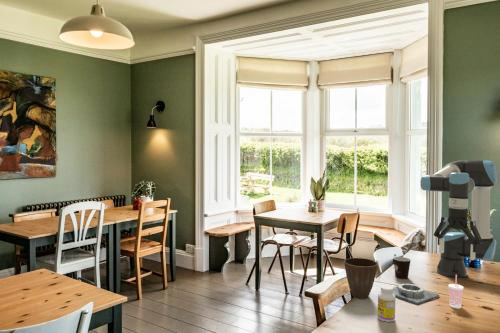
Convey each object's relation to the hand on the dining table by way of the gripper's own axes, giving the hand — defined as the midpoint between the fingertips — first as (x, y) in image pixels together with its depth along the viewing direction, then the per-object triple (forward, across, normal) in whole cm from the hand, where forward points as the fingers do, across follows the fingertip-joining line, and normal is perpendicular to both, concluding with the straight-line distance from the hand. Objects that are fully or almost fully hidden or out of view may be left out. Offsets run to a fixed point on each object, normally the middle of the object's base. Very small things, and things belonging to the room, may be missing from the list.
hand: (456, 256), depth 170 cm
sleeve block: (+22, -19, -4) cm, 29 cm away
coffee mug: (+22, -39, +18) cm, 48 cm away
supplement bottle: (+23, -8, -38) cm, 45 cm away
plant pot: (+22, -31, -26) cm, 46 cm away
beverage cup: (+22, 0, 0) cm, 22 cm away
